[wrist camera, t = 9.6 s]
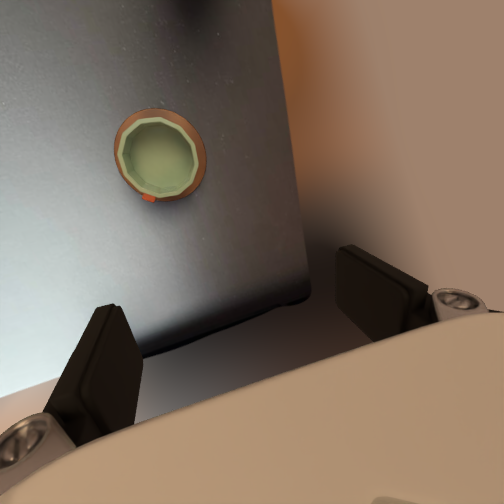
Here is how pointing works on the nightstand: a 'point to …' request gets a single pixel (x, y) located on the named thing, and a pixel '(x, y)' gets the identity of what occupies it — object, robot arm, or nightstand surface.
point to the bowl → (157, 157)
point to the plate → (186, 127)
